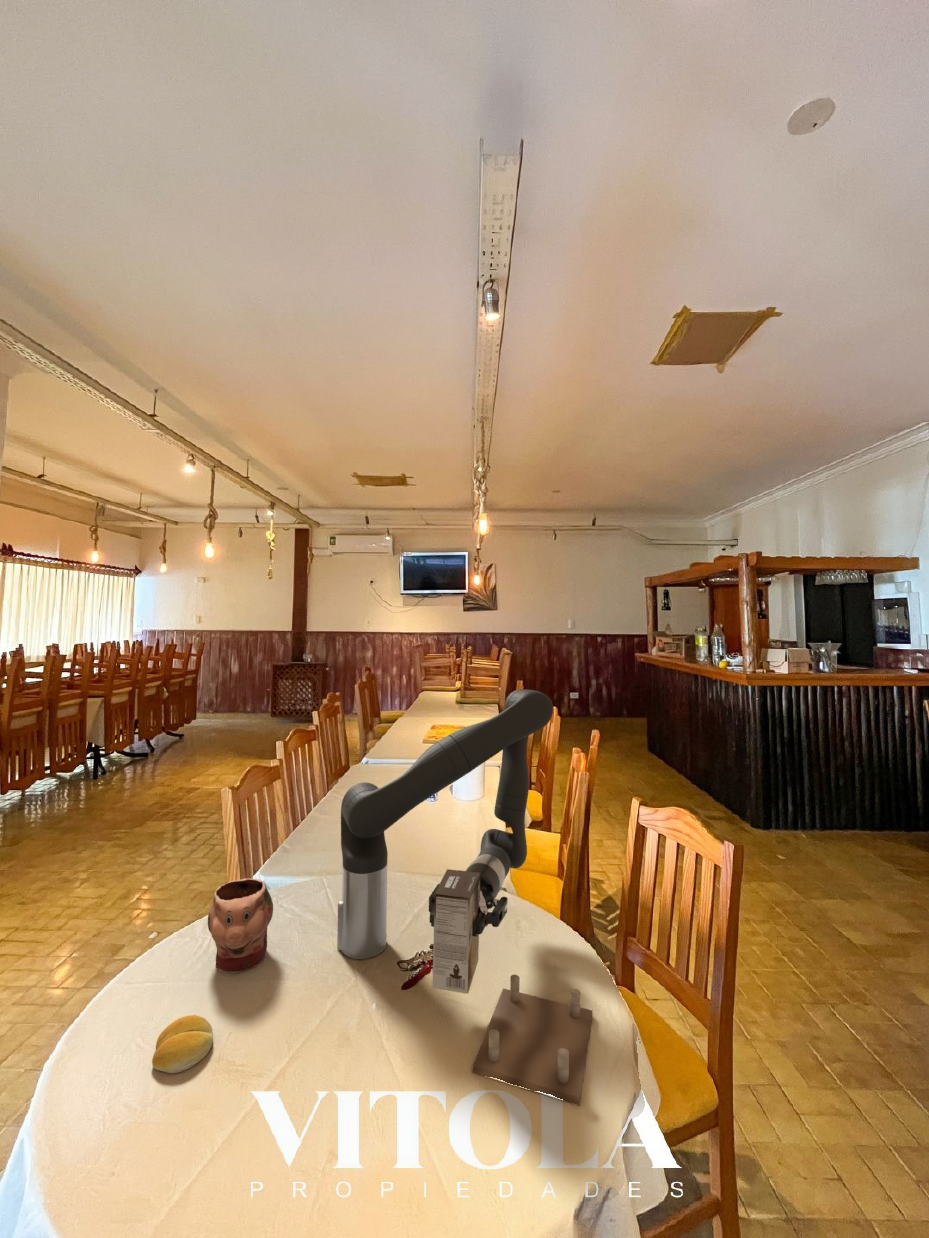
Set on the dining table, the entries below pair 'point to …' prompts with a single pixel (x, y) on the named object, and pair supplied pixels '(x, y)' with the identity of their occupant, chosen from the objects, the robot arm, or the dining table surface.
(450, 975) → the coffee box
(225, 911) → the decorative planter
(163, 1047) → the bread roll
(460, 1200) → the dining table surface
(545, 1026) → the standoff plate
